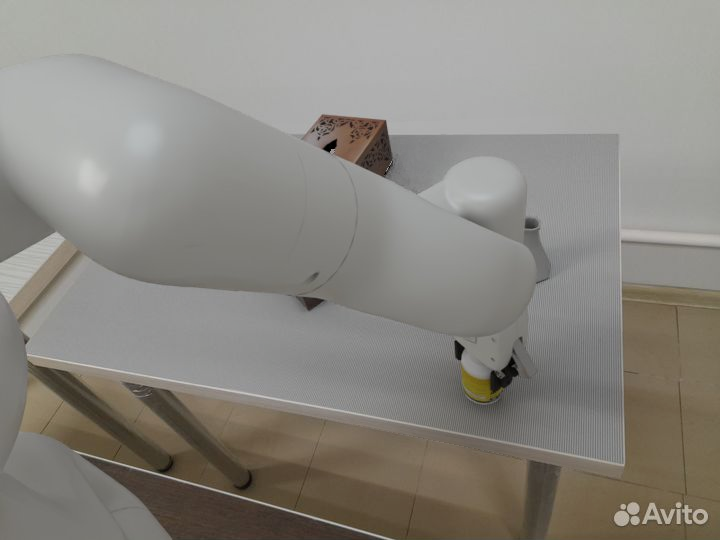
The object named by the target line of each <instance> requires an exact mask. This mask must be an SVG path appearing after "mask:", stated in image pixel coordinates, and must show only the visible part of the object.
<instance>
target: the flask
mask: <svg viewBox="0 0 720 540" xmlns="http://www.w3.org/2000/svg"><path fill="white" fill-rule="evenodd" d="M541 227H542V220H541V219H540V218H539V217H538V216H537V215H526V217H525V229H524V242H523V245H525V246H526V247H527V248H528V249H529V250H530V252H531V253H532V255H533V257H534V260H535V264H536V270H537V278H536V283H539V282H541V281H544V280H547V279H549V277H550V271H551V263H550V260H549V258H548V255H547V253H546V251H545V249H544V246H543V243H542V241H541V237H540V230H541Z"/></svg>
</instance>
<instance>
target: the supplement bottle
mask: <svg viewBox="0 0 720 540" xmlns="http://www.w3.org/2000/svg"><path fill="white" fill-rule="evenodd" d="M460 362H461V364H460V365H461V386H462V391H463V394H464V395H465V397H466V398H467V399H469V400H470V402H473V403H475V404H477V405H481V406H482V405H486V406H487V405H492V404H495V403H496V402H497V401H498V400H500V398H501V397H502V396H503V395H504V390H505V388H504V389H503V388H502V387H501V388H500V389H499V390H498V391H496V392H495V393H494V392H493V391H492V390H491V388H490V373H491V372H492V371H493V369H490V368H489V367H487V366H486V365H485V364H483V363H482V362H481V361H480V360H479V359H477V358H476V357H475V356H474V355H473V354H472V353H470V352H469V351H468V350H467V349H466V348H465V349H464V351H463V353H462V358H461V361H460Z"/></svg>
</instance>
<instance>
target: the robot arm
mask: <svg viewBox="0 0 720 540" xmlns="http://www.w3.org/2000/svg"><path fill="white" fill-rule="evenodd" d="M527 203H528V183H527V179H526V176H525V174H524V173H523V171H522V170H521V168H520V167H518V165H516V164H515V163H513V162H512V161H510V160H508V159H506V158H504V157H503V158H502V157H499V156H493V155H479V156H472V157H468V158H466V159H463V160H461V161H459V162H457V163H455V164H453V165H452V166H451V167H450V168H449V169H448V170H447V171H446V172H445V174H444V175H443V177H442V180H440V181H438V182H437V183H434V184H433V185H432V186H430V187H428V188H426V189H424V190H422V191H420V192H418V193H415V192H413V191H411V190H409V189H407V188H406V187H404V186H402V185H400V184H398V183H396V182H394V181H392V180H390V179H388V178H386V177H385V176H384V177H382V176H380V175H377V174H375V173H373V172H371V171H369V170H367V169H365V168H362V167H360V166H358V165H356V164H354V163H352V162H350V161H347V160H345V159H343V158H340V157H338V156H336V155H333V154H331V153H329V152H327V151H325V150H322V149H320V148H318V147H316V146H314V145H311V144H309V143H307V142H305V141H303V140H301V139H300V138H298V137H296V136H293V135H291V134H289V133H288V132H285V131H283V130H282V129H281V130H280V129H278V128H276V127H274V126H272V125H270V124H268V123H265V122H264V121H261V120H260V119H257V118H255V117H252V116H251V115H248V114H246V113H244V112H242V111H240V110H237V109H236V108H233V107H231V106H229V105H226V104H224V103H223V102H222V103H221V102H220V101H217V100H215V99H213V98H212V97H208V96H206V95H204V94H201V93H199V92H197V91H195V90H192V89H190V88H187V87H185V86H181V85H179V84H176V83H175V82H171V81H167V80H165V79H163V78H158V77H155V76H153V75H150V74H148V73H144V72H141V71H138V70H136V69H133V68H131V67H128V66H127V65H123V64H119V63H118V62H115V61H113V60H109V59H106V58H103V57H99V56H96V55H90V54H89V55H88V54H83V53H64V54H54V55H47V56H46V55H45V56H42V57H38V58H33V59H30V60H27V61H23V62H19V63H16V64H13V65H9V66H5V67H3V68H0V264H1V263H4V262H5V261H7V260H9V259H11V258H12V257H14V256H16V255H17V254H20V253H22V252H23V251H25V250H27V249H29V248H31V247H32V246H34V245H36V244H38V243H39V242H41V241H43V240H46V239H47V238H48V237H50V236H52V235H54V234H55V233H58V235H60V236H61V237H62V238H64V239H65V240H66V241H67V242H68V243H69V244H70V245H72V246H73V247H74V248H75V249H76V250H77V251H79V252H80V253H81V254H83V255H85V257H87V258H88V259H90V260H91V261H93V262H95V263H96V264H97V265H99V266H101V267H102V268H105V269H106V270H108V271H110V272H112V273H115V274H116V275H119V276H122V277H125V278H128V279H131V280H135V281H138V282H142V283H147V284H152V285H160V286H167V287H179V288H195V289H197V288H198V289H208V290H217V291H229V292H249V293H260V294H261V293H262V294H274V295H283V296H292V297H295V296H302V297H312V298H319V299H323V300H324V301H327V302H330V303H333V304H335V305H338V306H342V307H344V308H347V309H350V310H353V311H357V312H360V313H363V314H367V315H371V316H375V317H379V318H383V319H386V320H391V321H395V322H399V323H402V324H405V325H409V326H412V327H415V328H416V327H417V328H419V329H423V330H426V331H430V332H433V333H437V334H442V335H446V336H451V337H452V339H454V341H453V342H454V343H453V345H454V358H455V359H456V360H457V361H460V362H461V358H462V353H463V351H464V349H465V348H466V349H467V350H468V351H469V352H470V353H472V354H473V355H474V356H475V357H476V358H477V359H479V360H480V361H481V362H482V363H483V364H485V365H486V366H487V367H489V368H490V369H493V371H492V372H491V373H490V388H491V390H492V391H493V392H494V393H495V392H496V391H498V390H499V389H500V388H501V387H502V388H503V389H504V390H505V389H506V388H507V387H509V386H510V385H511V384H512V382H513V381H514V378H517V377H520V378H523V379H527V380H530V379H531V378H532V377H533V376H535V374H537V373H538V369H537V367H536V365H535V363H534V361H533V360H532V358H531V356H530V355H529V352H528V351H527V346H528V339H529V338H528V337H529V317H528V316H529V315H528V306H529V305H530V303H531V301H532V298H533V295H534V293H535V289H536V286H537V282H536V278H537V270H536V264H535V260H534V257H533V255H532V253H531V252H530V250H529V249H528V248H527V247H526V246H525V245H523V242H524V229H525V217H526V216H527ZM28 360H29V359H28V355H27V347H26V342H25V338H24V335H23V331H22V329H21V326H20V324H19V321H18V318H17V316H16V315H15V313H14V310H13V309H12V307H11V305H10V304H9V302H8V300H7V298H6V297H5V295H4V294H3V293H2V292H1V291H0V540H174V539H173V538H172V537H171V535H170V534H169V533H168V532H167V530H166V529H165V528H164V526H163V525H162V524H161V523H160V522H159V520H158V519H157V518H156V517H155V515H154V514H153V513H152V512H151V511H150V509H149V508H148V507H147V506H146V505H145V504H144V503H143V501H142V500H141V499H140V498H139V497H137V496H136V494H134V493H133V492H132V491H130V490H129V489H127V488H126V487H125V486H124V485H123V484H121V483H120V482H119V481H117V480H116V479H114V478H113V477H112V476H110V475H108V474H107V473H106V472H104V471H103V470H101V469H100V468H99V467H97V466H96V465H95V464H93V463H92V462H90V461H89V460H87V459H86V458H85V457H83V456H82V455H80V454H79V453H78V452H77V451H75V450H74V449H72V448H70V447H69V446H68V445H66V444H65V443H63V442H62V441H60V440H59V439H56V438H54V437H52V436H49V435H45V434H42V433H38V432H32V431H21V430H20V429H21V426H22V423H23V419H24V415H25V409H26V406H27V397H28V388H29V361H28Z"/></svg>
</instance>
